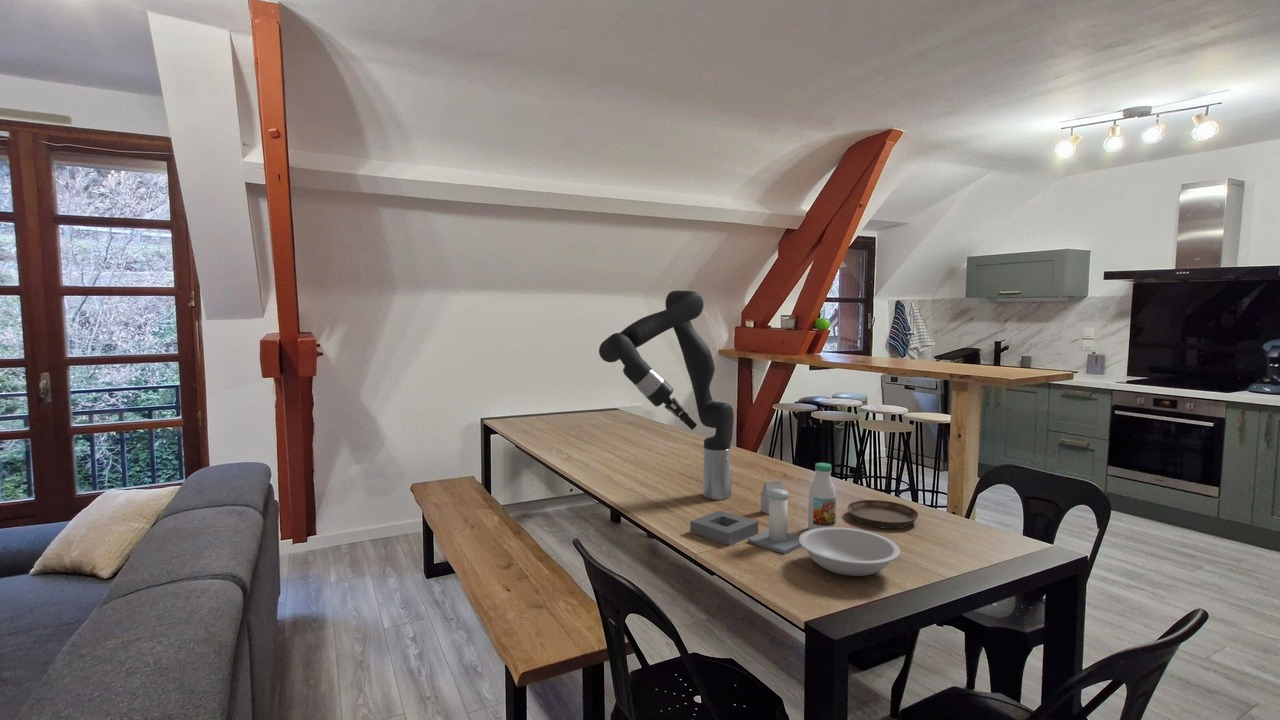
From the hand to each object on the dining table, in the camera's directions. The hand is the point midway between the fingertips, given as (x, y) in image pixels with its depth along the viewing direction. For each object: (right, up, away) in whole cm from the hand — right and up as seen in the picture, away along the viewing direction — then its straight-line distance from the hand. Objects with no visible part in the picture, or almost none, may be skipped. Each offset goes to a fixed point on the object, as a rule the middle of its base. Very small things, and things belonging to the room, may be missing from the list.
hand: (691, 424), depth 182 cm
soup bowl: (+37, -33, -29) cm, 57 cm away
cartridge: (+23, -31, -11) cm, 40 cm away
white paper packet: (+28, -30, +16) cm, 44 cm away
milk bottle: (+38, -31, -2) cm, 49 cm away
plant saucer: (+60, -31, +8) cm, 68 cm away
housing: (+9, -31, -4) cm, 33 cm away
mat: (+23, -32, -11) cm, 41 cm away
